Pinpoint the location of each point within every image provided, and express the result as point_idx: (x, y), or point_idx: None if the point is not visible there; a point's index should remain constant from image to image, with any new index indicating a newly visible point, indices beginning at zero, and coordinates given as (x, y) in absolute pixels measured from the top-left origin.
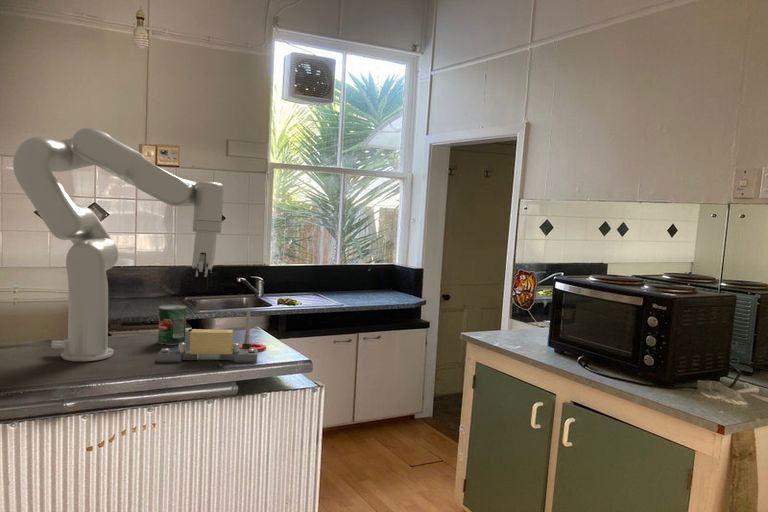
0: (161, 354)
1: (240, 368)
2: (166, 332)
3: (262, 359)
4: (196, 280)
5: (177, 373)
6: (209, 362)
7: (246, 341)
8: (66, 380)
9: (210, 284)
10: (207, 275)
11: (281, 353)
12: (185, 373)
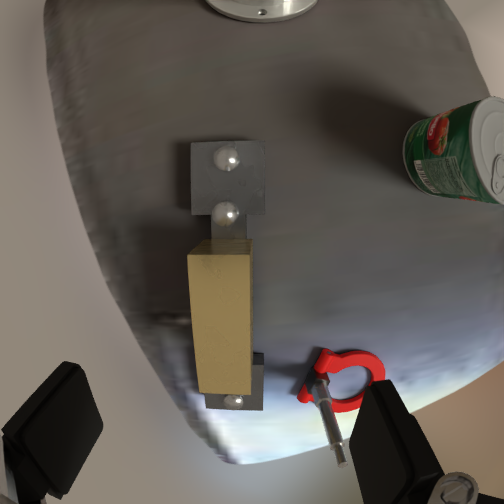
0: (191, 154)
1: (153, 362)
2: (422, 137)
3: None
4: (25, 417)
5: (97, 223)
6: None
7: (313, 392)
8: (72, 27)
9: (351, 454)
10: (375, 497)
11: (294, 436)
12: (98, 242)
